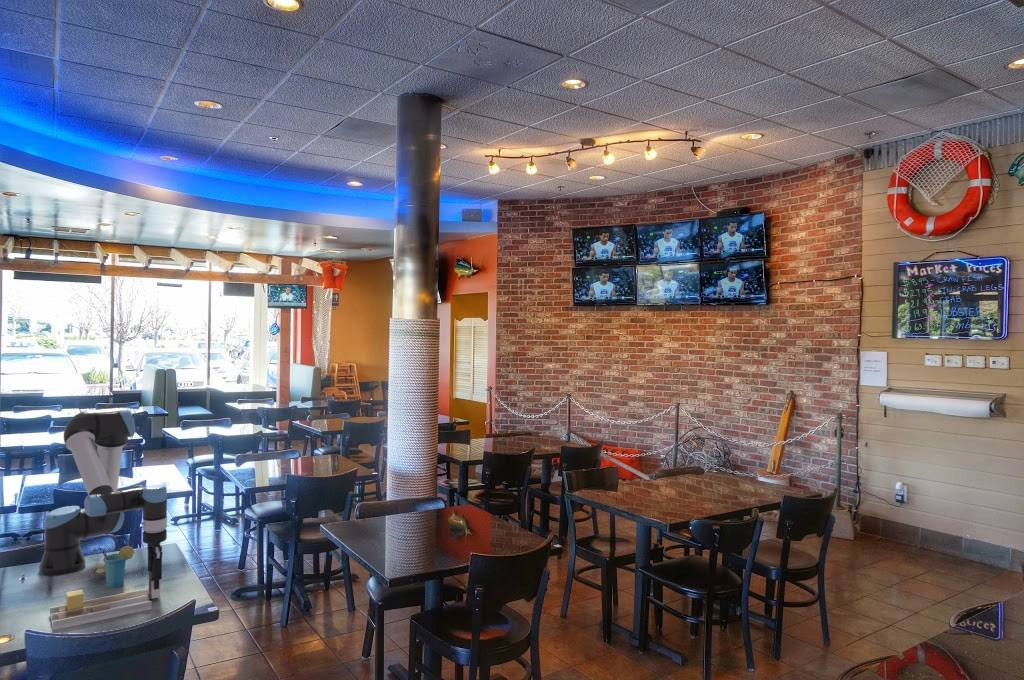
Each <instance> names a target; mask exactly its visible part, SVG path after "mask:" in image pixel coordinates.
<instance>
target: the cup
mask: <svg viewBox="0 0 1024 680" xmlns="http://www.w3.org/2000/svg"><path fill="white" fill-rule="evenodd" d="M99 551H101V552H102V555H103V557H104V558H103V563H104V570H105V579H106V587H107V588H108V589H116V588H120V587H122V586H124V581H125V571H126V561H128V560H130V559H133V556H134V554H135V550H134V549H133V547H132V546H128V545H126V546H123V547H121V548H120V550H119V552H118V553H113V554H112V553H111V554H108V555H107V553H106V551H105V549H104V548H103V547H98V548H96V549H95V548H94V549H93V550H90V553H92V554H93V553H96V552H99Z"/></svg>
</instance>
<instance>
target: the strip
mask: <svg viewBox="0 0 1024 680" xmlns="http://www.w3.org/2000/svg"><path fill="white" fill-rule="evenodd" d="M150 579H152V571H150V572H149V571H148V589H145V590H144V591H139V592H134V593H129V594H124V595H119V596H114V597H109V598H104V599H99V600H94V601H88V602H83V607H82V608H84V607H89V606H94V605H99V604H104V603H109V602H114V601H119V600H124V599H129V598H134V597H139V596H143V595H148V599H152V598H151V581H150ZM77 609H79V608H77ZM72 610H74V609H72ZM64 611H69V610H67V607H66V606H63V607H58V613H59V612H64Z"/></svg>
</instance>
